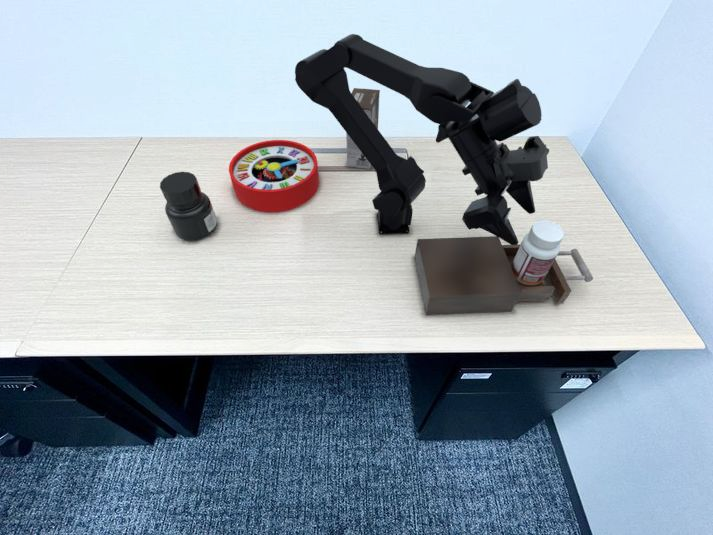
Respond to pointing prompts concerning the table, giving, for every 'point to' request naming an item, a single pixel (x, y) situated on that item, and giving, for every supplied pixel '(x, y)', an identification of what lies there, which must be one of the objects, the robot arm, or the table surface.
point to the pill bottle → (537, 252)
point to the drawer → (550, 278)
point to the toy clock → (274, 175)
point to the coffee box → (371, 107)
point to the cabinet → (465, 276)
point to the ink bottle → (188, 207)
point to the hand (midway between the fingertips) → (524, 227)
